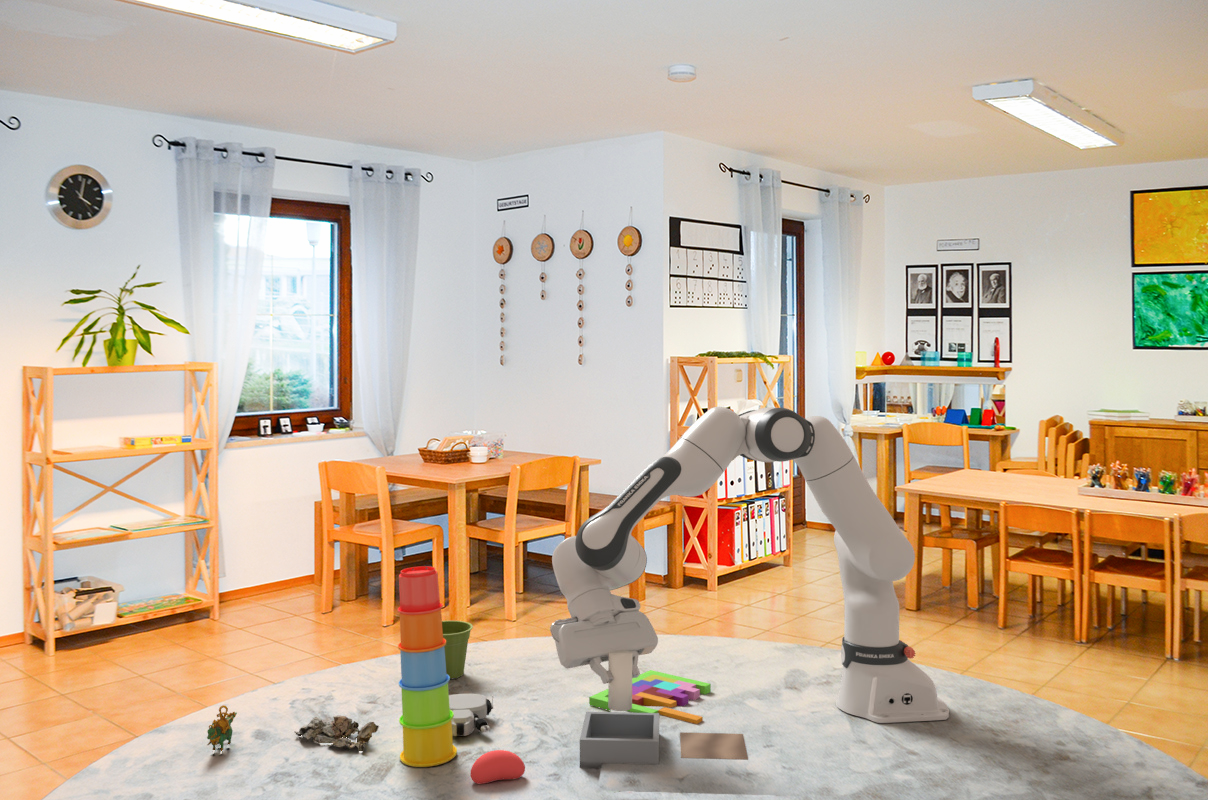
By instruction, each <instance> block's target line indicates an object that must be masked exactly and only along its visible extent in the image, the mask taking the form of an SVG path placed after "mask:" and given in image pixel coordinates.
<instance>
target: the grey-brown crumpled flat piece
mask: <svg viewBox="0 0 1208 800" xmlns="http://www.w3.org/2000/svg"><path fill="white" fill-rule="evenodd" d="M332 718H333V720H332V721H329V722H327V721H323V720H322V719H321V718H319V717H318V716H315V717H312V719H311V720H310V721H309V722H308V723H307V725H304V726H303V725H302V726H301V727H300V728H299V730H298V731H297V730H294V733H295V735H296V736H297V737H298V736H301V735H302V737H301V738H300V740H301V741H302V740H303V739H302V738H306V740H309V739H310V738H312V740H313V741H312V743H314V744H319V743H333V744H331V745H328V746H327V747H329V746H330V747H331V746H334V747H337V748H343V747H346V748H347V747H348V749H349V750H350V749H352V748H353V749H354V748H355V746H356V747H357V749H358V751H363V753H364V750H365V745H366V744H369V743H370V739H371V738H372V737H373V734H375V733H377V731H378V730H379V727H380V726H379V725H377V724H376V723H375V721H370V722H367V723H366V724H365V725H364V726H362V727H361V728H360V730H359V726H360V725H359V722H357V721H355V720H354V721H353V719H352V718H348V717H347V716H346V715H333V717H332ZM355 733H356V734H357V735H356V737H355V739H356V738H357V742H356V741H354V742H351V740H349V739H350V738H349V737H351V735H352V734H353V735H355ZM342 737H343V738H342ZM346 737H347V738H346ZM348 738H349V739H348Z"/></svg>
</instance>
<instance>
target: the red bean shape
mask: <svg viewBox="0 0 1208 800" xmlns="http://www.w3.org/2000/svg"><path fill="white" fill-rule="evenodd" d="M525 771H526V765H525V763H524V761H523V760H522V758H521V757H520V756H519V755H517V754H516V753H514V752H511V751H510V750H504V749H496V750H490V751H487V752H486V753H485V752H484V753H483V754H482V755H481V756H479V757H478V758H476V760H475V762H474V763H473V764H472V766H471V769H470V772H469V773H470V779H471V780H472V782H474V783H475V784H477V785H483V784H488V783H491V782H494V781H495V782H496V781H501V780H502V781H504V780H517V779H519V778H521V777H522V776H523V775H524V773H525Z"/></svg>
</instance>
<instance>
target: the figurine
mask: <svg viewBox="0 0 1208 800" xmlns="http://www.w3.org/2000/svg"><path fill="white" fill-rule="evenodd" d="M222 708H224V709H225V711H224V712H223V711H222ZM228 708H229V707H228V706H226V705H224V704H223V705H220V706H219V709H218V712H219V713H217V714H216V718H218V719H217V720H216V719H213V721H212V724H209V726H208V729H207V736H206V738H207V740H209V742H208V743H207V744H206V746H210V745H212V750H215V751H216V750H217V747H216V746H217V745H219V746H220V745H221V748H220V749H219V751H220V750H221V751H222V750H223V751H224V743H225V742H226V741H227V745H228V744H230V743H231V744H232V738H233V737H232V736H233V728H232V726H231V725H232V723H233V722H234V719H235V718H236V716H237V714H238V712H237V711H236V712H235V711H232V712H229V709H228ZM228 712H229V713H228ZM231 744H230V745H231ZM223 751H222V752H223Z"/></svg>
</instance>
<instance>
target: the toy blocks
mask: <svg viewBox="0 0 1208 800" xmlns="http://www.w3.org/2000/svg"><path fill="white" fill-rule="evenodd" d="M711 690H712V688H711V683H708V682H704V681H699V680H696V679H691V678H688V677H682V676H679V675H674V674H670V673H666V672H665V673H664V672H662V671H661V672H660V671H658V670H657V671H656V670H652V669H650V670H647V671H646V672H645V671H644V673H640V675H639V676H638V677H637V678H632V708H631V709H630V710H627V711H626V712H629V713H659V716H664V717H667V718H672V719H674V720H675V719H676V720H680V721H683V722H687V723H689V724H690V723H691V724H694V725H698V724H699V723H701V722H703V720H704V719H703V718H704V717H703V716H700V715H697V714H693V713H688V712H685V711H681V710H679V709H678V710H677V709H673V708H677V706H680V707H684V706H686V705H689V700H691V701H696V700H698V699H699V698H701V697H700V694H701V695H704V696H705V695H707V694H710V693H711ZM588 697H589V700H588V701H589V702H588V703H589V704H590V705H593V706H596V707H595V708H597V707H600V708H603V709H602V710H604V709H607V710H606V711H608V710H610V711H609V712H612V710H611V709H609V708H608V688H607V689H604V690H602V691H600V692H598V693H595V694H593V695H592V696H591V695H590V696H588ZM593 706H592V707H593ZM651 707H656V708H657V707H660V709H656V708H655V709H654V708H651ZM661 707H662V708H661ZM600 708H599V709H600Z"/></svg>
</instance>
